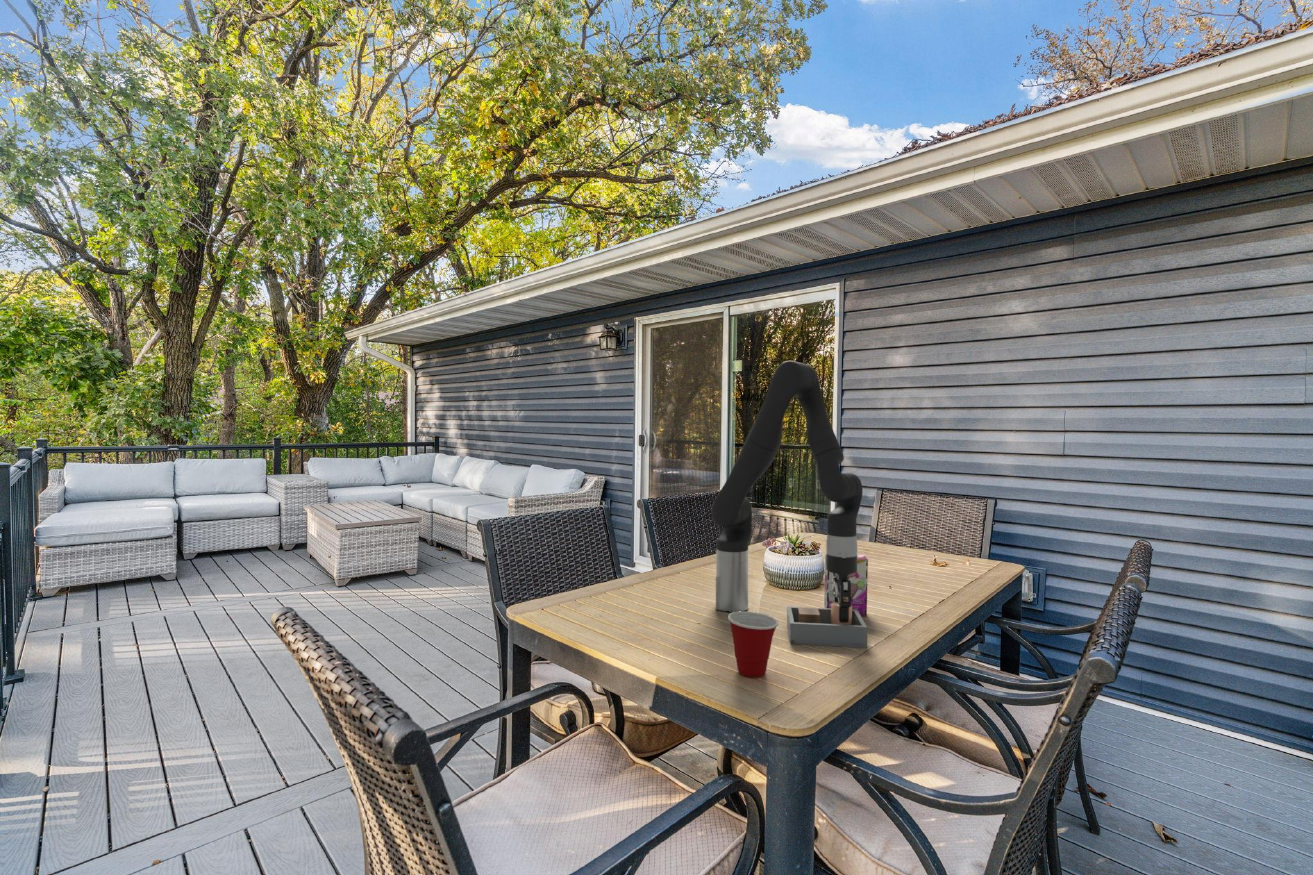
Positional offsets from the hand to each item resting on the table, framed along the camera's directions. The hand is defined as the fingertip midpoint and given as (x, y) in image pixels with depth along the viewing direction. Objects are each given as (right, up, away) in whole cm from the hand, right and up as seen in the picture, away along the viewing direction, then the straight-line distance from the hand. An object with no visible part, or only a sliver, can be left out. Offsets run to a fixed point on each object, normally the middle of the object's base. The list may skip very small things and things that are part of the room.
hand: (841, 616), depth 152 cm
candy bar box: (+7, -5, +19) cm, 21 cm away
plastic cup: (-26, -6, -22) cm, 34 cm away
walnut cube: (-8, -4, +1) cm, 9 cm away
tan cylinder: (0, -4, 0) cm, 4 cm away
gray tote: (-4, -5, +1) cm, 6 cm away
